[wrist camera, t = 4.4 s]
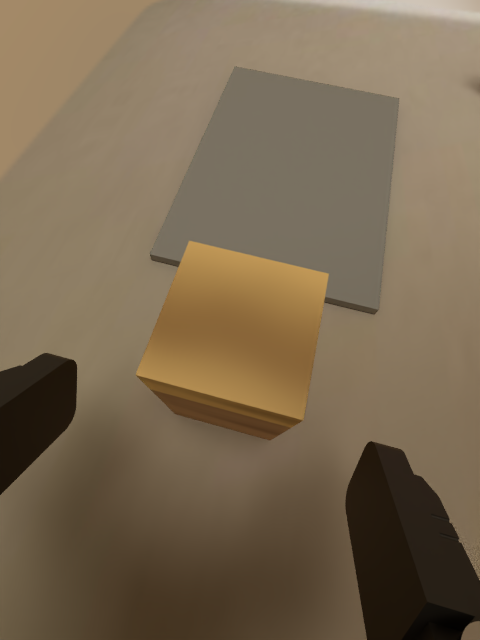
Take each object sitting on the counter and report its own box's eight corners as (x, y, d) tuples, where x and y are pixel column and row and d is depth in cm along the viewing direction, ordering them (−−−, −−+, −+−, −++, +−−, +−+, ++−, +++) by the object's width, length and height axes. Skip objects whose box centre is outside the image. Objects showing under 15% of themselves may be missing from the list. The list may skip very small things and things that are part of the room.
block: (204, 327, 19) (189, 240, 12) (289, 349, 19) (328, 273, 11) (175, 414, 17) (135, 374, 10) (270, 440, 17) (303, 420, 9)
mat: (234, 74, 29) (234, 66, 28) (395, 105, 28) (399, 98, 27) (151, 259, 21) (149, 254, 20) (374, 314, 20) (378, 309, 19)
